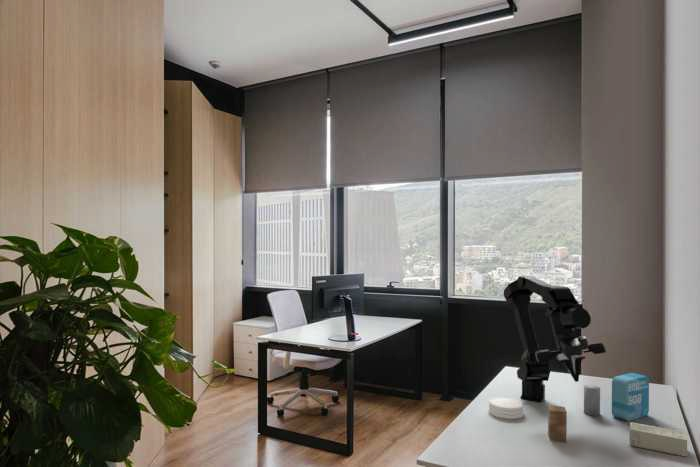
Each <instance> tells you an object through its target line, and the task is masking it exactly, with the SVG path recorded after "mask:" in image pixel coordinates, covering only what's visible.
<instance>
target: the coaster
mask: <svg viewBox="0 0 700 467" xmlns="http://www.w3.org/2000/svg"><path fill="white" fill-rule="evenodd" d="M488 412H489V414H490V415H492V416H494V417H496V418H499V417H500V418H499V419H503V418H505V419H504V420H519V419H521V418H523V416H524V404H523V403H522V402H521V401H519V400H517V399H515V398H514V399H513V398H510V397H502V396H500V397H492V398H491V399H489V400H488ZM518 418H519V419H518Z"/></svg>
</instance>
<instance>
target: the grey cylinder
mask: <svg viewBox="0 0 700 467" xmlns="http://www.w3.org/2000/svg"><path fill="white" fill-rule="evenodd" d="M583 413H584V414H585V415H589V416H592V417H599V416H600V415H601V388H600V386H597V385H593V384H584V386H583Z"/></svg>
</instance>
